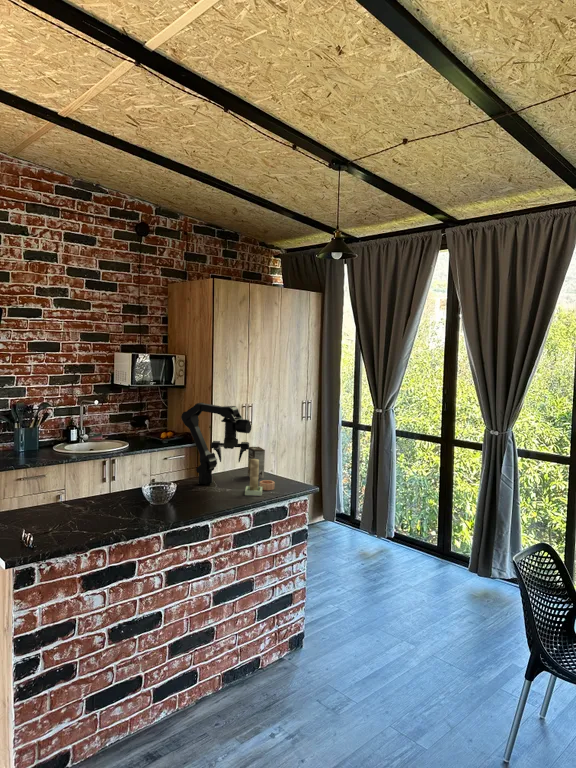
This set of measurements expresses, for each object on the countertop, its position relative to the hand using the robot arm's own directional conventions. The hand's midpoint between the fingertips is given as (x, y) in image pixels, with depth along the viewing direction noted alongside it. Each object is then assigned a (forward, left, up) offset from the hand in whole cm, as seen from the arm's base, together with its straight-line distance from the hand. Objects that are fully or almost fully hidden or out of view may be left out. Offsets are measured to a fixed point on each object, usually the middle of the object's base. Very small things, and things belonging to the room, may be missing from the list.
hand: (229, 462), depth 268 cm
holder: (+19, 0, -13) cm, 23 cm away
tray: (+13, -9, -13) cm, 21 cm away
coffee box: (+12, +22, -13) cm, 28 cm away
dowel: (+13, -9, -12) cm, 20 cm away
